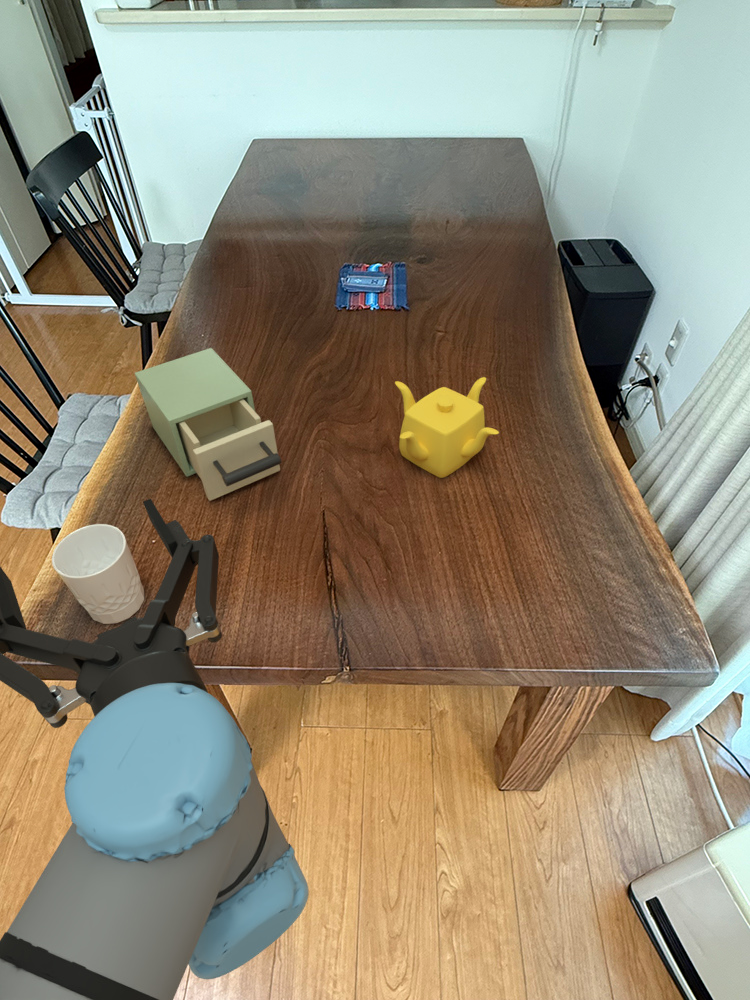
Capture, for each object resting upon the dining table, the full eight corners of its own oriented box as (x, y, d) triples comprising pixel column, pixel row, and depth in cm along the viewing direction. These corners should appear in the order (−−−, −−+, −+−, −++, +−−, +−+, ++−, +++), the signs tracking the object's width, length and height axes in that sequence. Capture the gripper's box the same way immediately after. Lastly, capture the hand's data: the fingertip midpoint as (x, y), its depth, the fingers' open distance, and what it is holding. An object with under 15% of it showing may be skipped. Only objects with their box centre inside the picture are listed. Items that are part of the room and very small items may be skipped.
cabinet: (261, 446, 95) (251, 390, 87) (186, 477, 90) (168, 421, 82) (223, 401, 103) (211, 347, 96) (153, 427, 98) (134, 372, 91)
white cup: (69, 616, 73) (35, 565, 65) (112, 568, 78) (85, 516, 71) (122, 637, 70) (93, 586, 63) (162, 587, 76) (140, 534, 68)
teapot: (398, 484, 88) (400, 432, 82) (391, 425, 98) (392, 375, 92) (495, 480, 89) (505, 428, 82) (479, 421, 99) (486, 371, 92)
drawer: (296, 489, 87) (290, 442, 80) (224, 522, 82) (211, 475, 76) (241, 424, 97) (232, 378, 91) (174, 450, 93) (159, 404, 87)
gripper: (-2, 851, 40) (-50, 629, 53) (316, 661, 50) (212, 512, 63) (-60, 814, 35) (-98, 577, 47) (308, 610, 45) (197, 458, 57)
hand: (78, 540), depth 55 cm, fingers open, 13 cm apart
